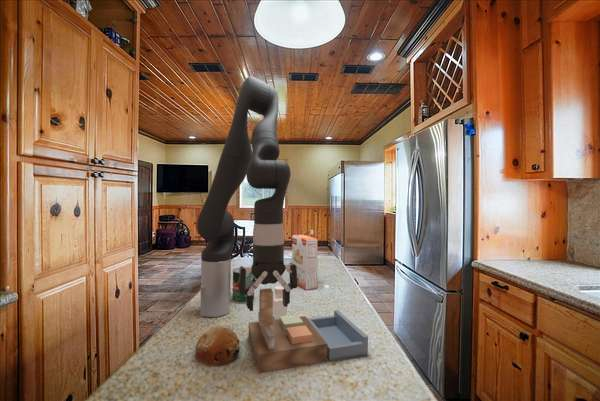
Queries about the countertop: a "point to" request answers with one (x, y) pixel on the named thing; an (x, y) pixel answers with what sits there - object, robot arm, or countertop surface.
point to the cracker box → (305, 260)
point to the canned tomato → (236, 294)
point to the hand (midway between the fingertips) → (268, 307)
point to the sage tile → (290, 321)
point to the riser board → (285, 348)
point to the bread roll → (217, 346)
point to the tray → (341, 336)
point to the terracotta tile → (299, 334)
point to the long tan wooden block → (266, 316)
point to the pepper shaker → (279, 303)
